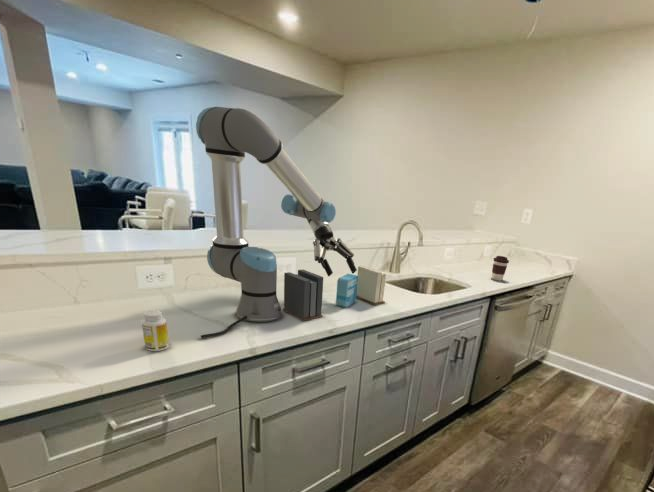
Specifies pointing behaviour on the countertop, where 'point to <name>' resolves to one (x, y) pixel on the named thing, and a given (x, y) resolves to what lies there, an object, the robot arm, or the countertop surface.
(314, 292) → the grey books
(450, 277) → the countertop surface
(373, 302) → the cream books
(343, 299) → the blue box
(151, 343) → the supplement bottle
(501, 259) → the coffee cup
